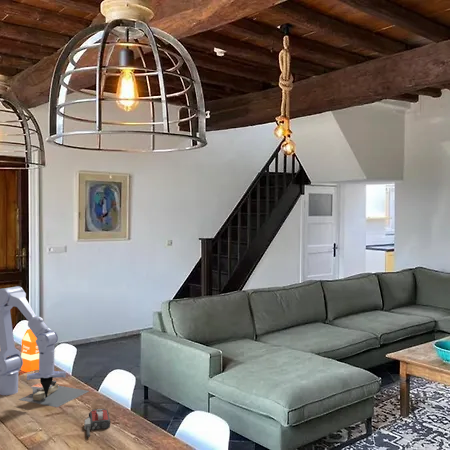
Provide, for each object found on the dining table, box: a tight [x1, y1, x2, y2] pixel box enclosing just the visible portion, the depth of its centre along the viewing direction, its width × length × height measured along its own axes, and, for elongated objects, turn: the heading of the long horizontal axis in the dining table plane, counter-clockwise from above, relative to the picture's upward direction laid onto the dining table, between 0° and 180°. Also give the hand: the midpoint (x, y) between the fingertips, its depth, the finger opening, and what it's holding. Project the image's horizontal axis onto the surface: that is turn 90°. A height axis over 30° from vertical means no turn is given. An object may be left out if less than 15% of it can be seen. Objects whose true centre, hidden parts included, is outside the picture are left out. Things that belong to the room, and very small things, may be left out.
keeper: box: [30, 383, 52, 394], centre depth 205 cm, size 4×7×4 cm, turn 78°
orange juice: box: [20, 328, 39, 373], centre depth 240 cm, size 8×9×20 cm
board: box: [18, 385, 90, 408], centre depth 204 cm, size 19×20×1 cm
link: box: [33, 380, 59, 401], centre depth 204 cm, size 14×3×4 cm, turn 170°
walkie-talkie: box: [84, 408, 111, 438], centre depth 177 cm, size 9×4×20 cm
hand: (46, 396), depth 199 cm, fingers closed
